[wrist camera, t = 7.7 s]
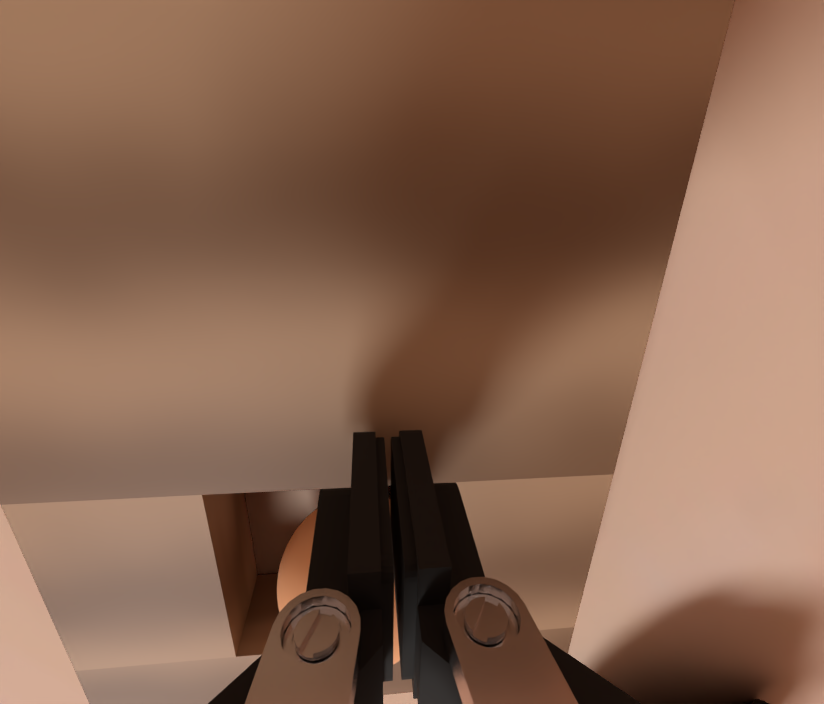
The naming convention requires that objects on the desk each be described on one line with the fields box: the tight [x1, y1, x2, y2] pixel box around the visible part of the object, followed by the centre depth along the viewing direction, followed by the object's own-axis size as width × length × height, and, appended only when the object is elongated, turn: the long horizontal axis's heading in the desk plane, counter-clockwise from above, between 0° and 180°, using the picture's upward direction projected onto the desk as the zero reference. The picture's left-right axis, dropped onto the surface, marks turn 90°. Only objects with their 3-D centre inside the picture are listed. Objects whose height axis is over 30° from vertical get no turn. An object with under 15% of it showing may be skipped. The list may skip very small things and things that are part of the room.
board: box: [0, 0, 735, 704], centre depth 12 cm, size 24×16×3 cm, turn 179°
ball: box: [277, 498, 400, 665], centre depth 13 cm, size 5×5×5 cm
